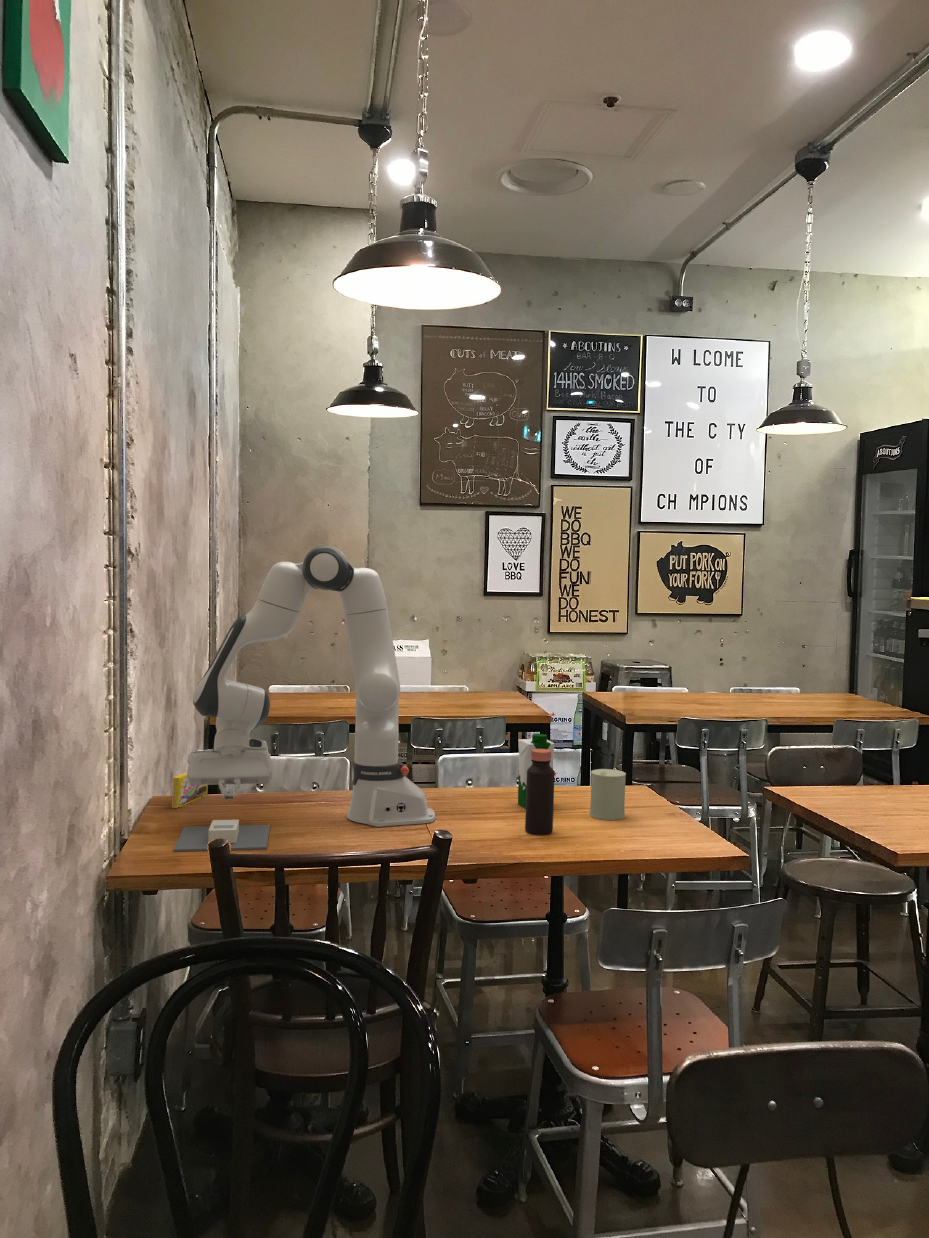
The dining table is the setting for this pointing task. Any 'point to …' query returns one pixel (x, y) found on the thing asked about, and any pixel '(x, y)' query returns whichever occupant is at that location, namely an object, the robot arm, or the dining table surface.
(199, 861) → the dining table surface
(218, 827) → the card deck
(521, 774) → the milk carton
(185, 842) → the mat
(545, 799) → the bottle
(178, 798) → the candy box
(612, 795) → the can
